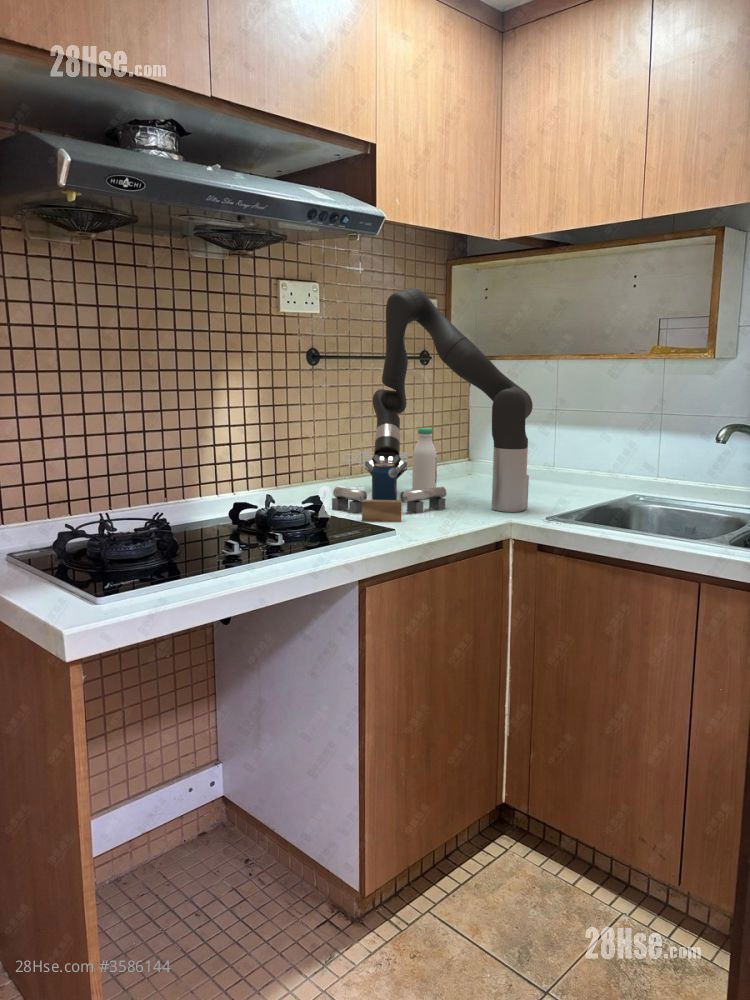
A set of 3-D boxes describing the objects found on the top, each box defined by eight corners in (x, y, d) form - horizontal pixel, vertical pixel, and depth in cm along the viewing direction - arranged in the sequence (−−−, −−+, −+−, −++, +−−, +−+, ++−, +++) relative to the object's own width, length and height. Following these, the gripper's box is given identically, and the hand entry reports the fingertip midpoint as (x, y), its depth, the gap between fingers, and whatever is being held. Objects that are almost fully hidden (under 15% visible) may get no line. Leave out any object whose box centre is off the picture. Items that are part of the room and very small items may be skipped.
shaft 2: (437, 506, 202) (437, 485, 201) (447, 509, 199) (447, 487, 198) (399, 512, 194) (399, 490, 193) (408, 514, 191) (408, 492, 190)
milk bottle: (433, 493, 225) (434, 429, 221) (409, 491, 227) (410, 428, 224) (438, 489, 232) (439, 427, 229) (415, 488, 235) (416, 427, 231)
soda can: (401, 506, 200) (401, 465, 197) (379, 510, 197) (379, 467, 194) (388, 501, 206) (388, 460, 203) (367, 504, 203) (367, 463, 200)
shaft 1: (368, 512, 194) (368, 490, 193) (357, 514, 191) (357, 491, 190) (342, 507, 201) (342, 486, 200) (332, 509, 198) (331, 487, 197)
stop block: (362, 518, 185) (362, 499, 184) (401, 519, 185) (401, 500, 184) (361, 521, 182) (362, 501, 181) (401, 521, 182) (401, 502, 181)
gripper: (364, 434, 211) (361, 482, 201) (409, 435, 210) (408, 483, 200) (365, 450, 217) (362, 497, 207) (409, 450, 216) (408, 498, 206)
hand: (384, 490), depth 204 cm, fingers closed
